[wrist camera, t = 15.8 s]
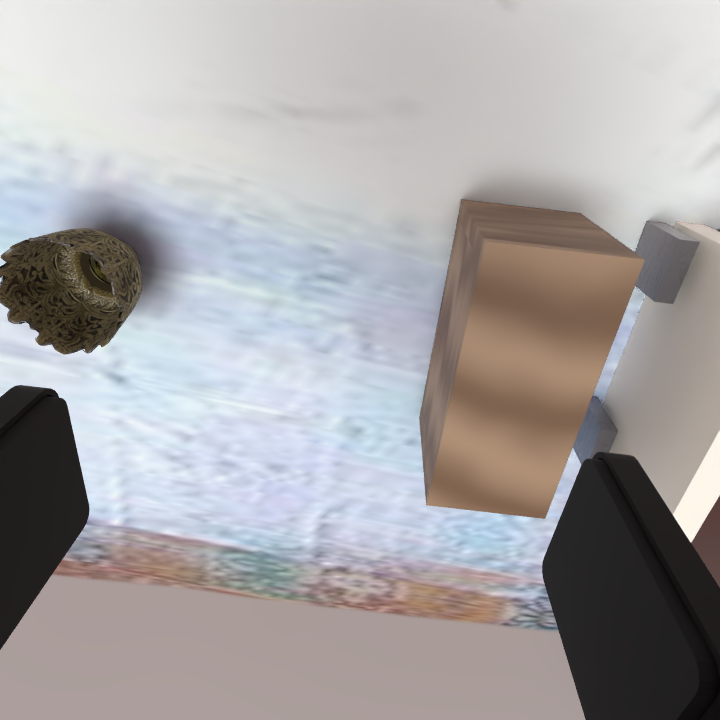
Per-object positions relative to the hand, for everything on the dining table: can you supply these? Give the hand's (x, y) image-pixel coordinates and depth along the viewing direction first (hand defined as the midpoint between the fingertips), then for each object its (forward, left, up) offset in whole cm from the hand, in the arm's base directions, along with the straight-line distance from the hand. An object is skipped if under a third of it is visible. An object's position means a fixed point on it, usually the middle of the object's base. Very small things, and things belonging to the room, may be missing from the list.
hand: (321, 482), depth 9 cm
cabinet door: (+9, +21, -28) cm, 37 cm away
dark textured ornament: (+7, -18, -28) cm, 34 cm away
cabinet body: (+9, +10, -28) cm, 31 cm away
